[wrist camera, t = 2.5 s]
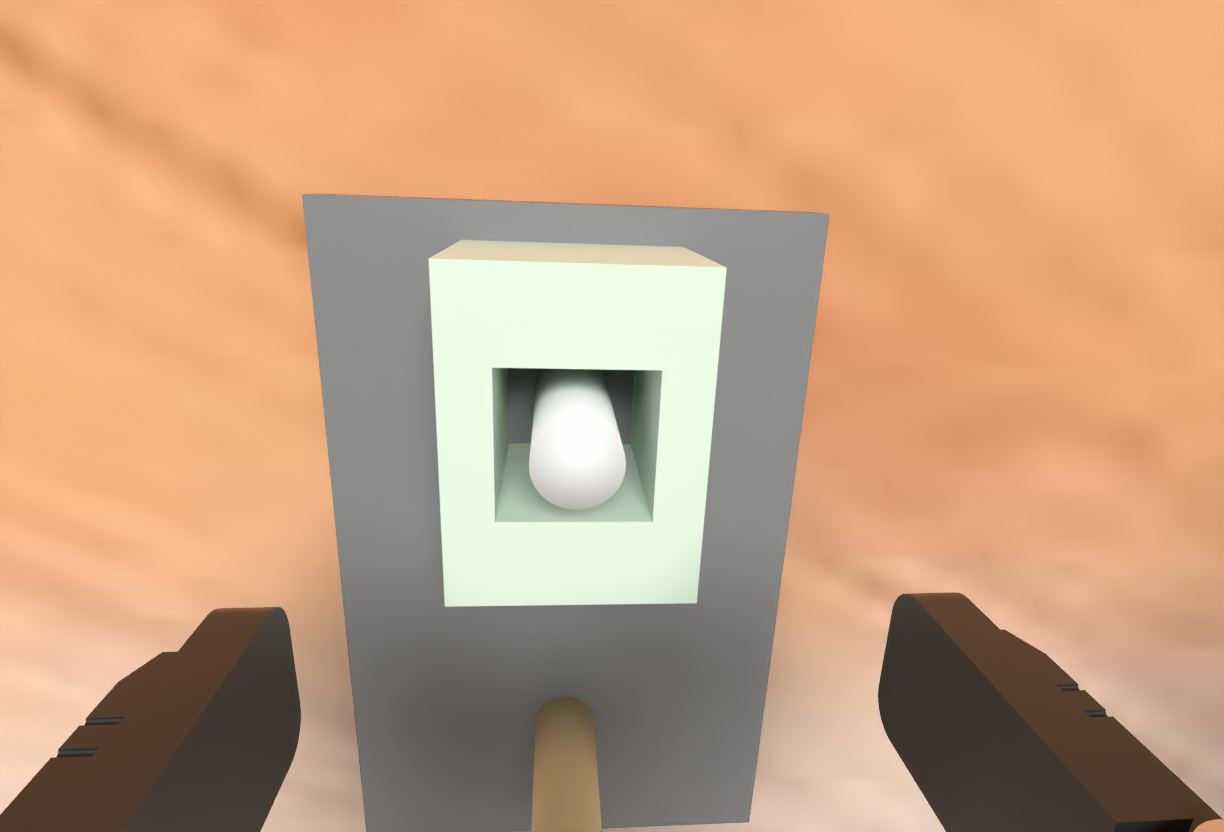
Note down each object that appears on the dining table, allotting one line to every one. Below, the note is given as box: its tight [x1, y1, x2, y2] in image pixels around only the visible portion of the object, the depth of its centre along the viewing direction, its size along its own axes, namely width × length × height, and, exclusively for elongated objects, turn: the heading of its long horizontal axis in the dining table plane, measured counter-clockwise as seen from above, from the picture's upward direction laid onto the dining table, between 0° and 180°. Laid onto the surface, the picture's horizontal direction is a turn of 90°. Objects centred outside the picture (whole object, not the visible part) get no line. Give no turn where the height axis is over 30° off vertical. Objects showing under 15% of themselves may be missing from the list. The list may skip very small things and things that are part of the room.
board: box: [302, 194, 830, 832], centre depth 20 cm, size 22×14×8 cm, turn 178°
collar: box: [429, 240, 727, 607], centre depth 17 cm, size 8×6×5 cm
